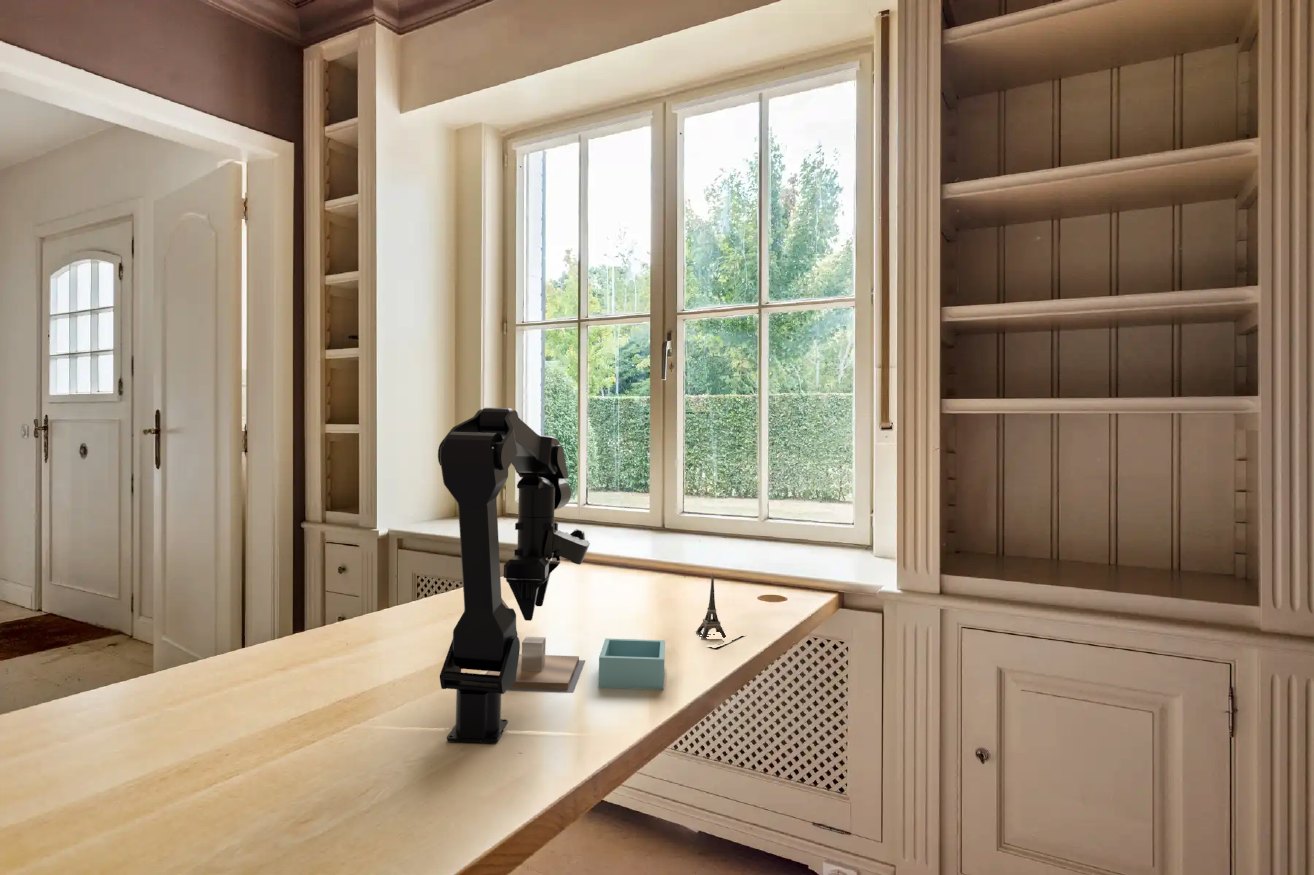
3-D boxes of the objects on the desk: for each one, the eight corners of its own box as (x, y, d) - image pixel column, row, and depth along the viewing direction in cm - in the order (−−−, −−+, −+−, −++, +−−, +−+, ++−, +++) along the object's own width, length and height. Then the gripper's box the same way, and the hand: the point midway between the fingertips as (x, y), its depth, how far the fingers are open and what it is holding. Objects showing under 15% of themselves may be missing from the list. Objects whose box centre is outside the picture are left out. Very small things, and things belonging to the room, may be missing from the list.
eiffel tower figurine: (717, 653, 135) (718, 580, 134) (670, 643, 140) (671, 573, 140) (753, 634, 147) (755, 567, 147) (709, 626, 153) (710, 561, 152)
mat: (573, 695, 111) (573, 692, 111) (474, 691, 111) (474, 689, 111) (585, 662, 126) (585, 660, 126) (497, 659, 126) (497, 657, 126)
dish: (663, 692, 113) (664, 659, 113) (598, 689, 113) (599, 657, 113) (664, 670, 123) (665, 640, 123) (604, 668, 123) (605, 638, 123)
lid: (567, 689, 112) (568, 653, 112) (482, 687, 112) (483, 651, 112) (578, 662, 125) (579, 629, 125) (502, 659, 125) (503, 627, 125)
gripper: (579, 524, 108) (576, 630, 109) (592, 510, 127) (590, 601, 127) (503, 522, 109) (501, 628, 109) (528, 508, 127) (526, 599, 127)
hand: (533, 613), depth 118 cm, fingers open, 9 cm apart
